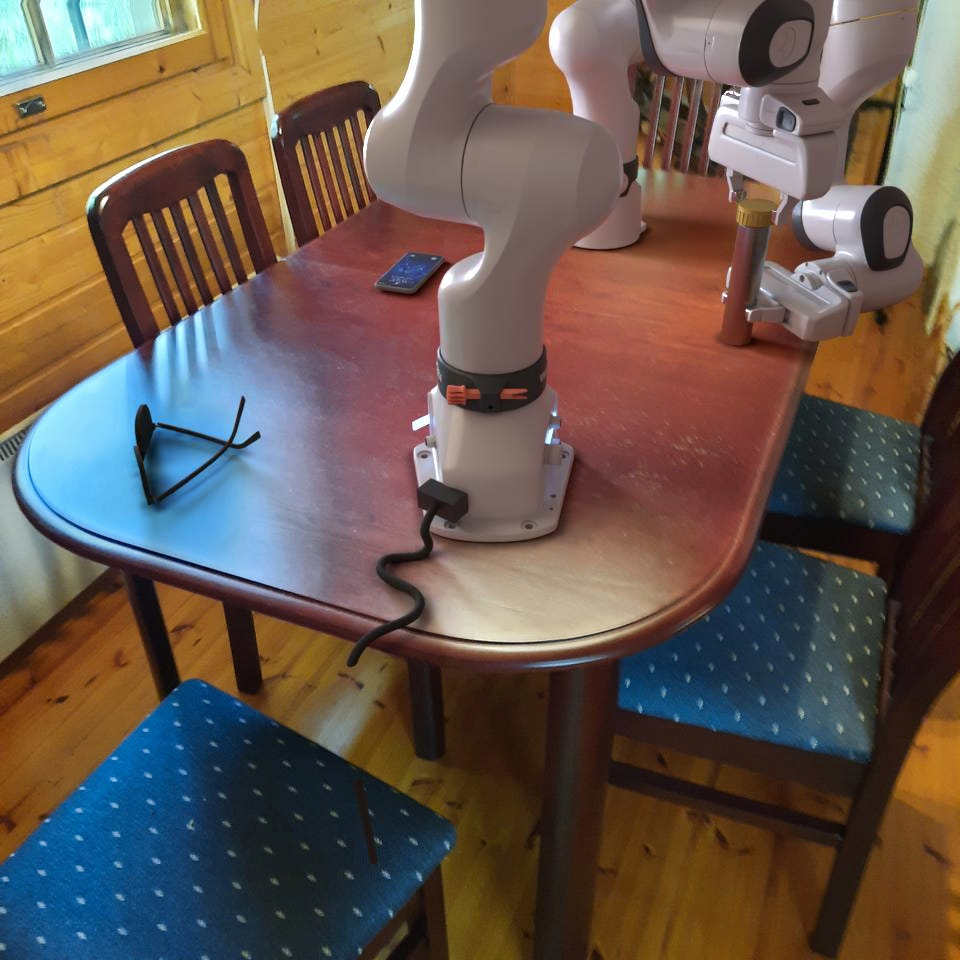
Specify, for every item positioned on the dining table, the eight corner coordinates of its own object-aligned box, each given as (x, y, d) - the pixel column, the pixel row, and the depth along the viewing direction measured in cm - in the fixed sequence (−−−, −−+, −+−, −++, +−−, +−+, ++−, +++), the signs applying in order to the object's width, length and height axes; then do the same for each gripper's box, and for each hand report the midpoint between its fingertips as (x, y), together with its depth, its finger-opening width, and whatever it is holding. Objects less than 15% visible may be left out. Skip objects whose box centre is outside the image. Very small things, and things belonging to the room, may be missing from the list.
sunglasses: (270, 486, 97) (262, 449, 94) (137, 510, 94) (125, 474, 91) (257, 411, 110) (250, 377, 107) (140, 430, 107) (130, 396, 104)
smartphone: (447, 255, 148) (413, 290, 136) (447, 261, 148) (413, 296, 137) (407, 250, 150) (371, 284, 138) (407, 255, 150) (371, 290, 139)
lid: (729, 223, 112) (731, 206, 111) (744, 211, 116) (747, 195, 114) (766, 230, 110) (769, 214, 109) (781, 219, 113) (784, 202, 112)
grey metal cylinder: (715, 340, 123) (735, 209, 111) (727, 329, 125) (748, 200, 114) (743, 348, 121) (767, 215, 109) (755, 337, 123) (779, 206, 112)
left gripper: (704, 87, 111) (691, 193, 119) (812, 124, 96) (788, 243, 104) (744, 81, 113) (728, 186, 121) (856, 117, 97) (829, 234, 106)
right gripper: (778, 245, 129) (698, 259, 126) (871, 298, 114) (783, 316, 110) (770, 284, 133) (693, 299, 130) (860, 341, 118) (774, 359, 114)
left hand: (757, 213), depth 112 cm, fingers open, 7 cm apart
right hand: (735, 307), depth 120 cm, fingers closed on grey metal cylinder, 4 cm apart
